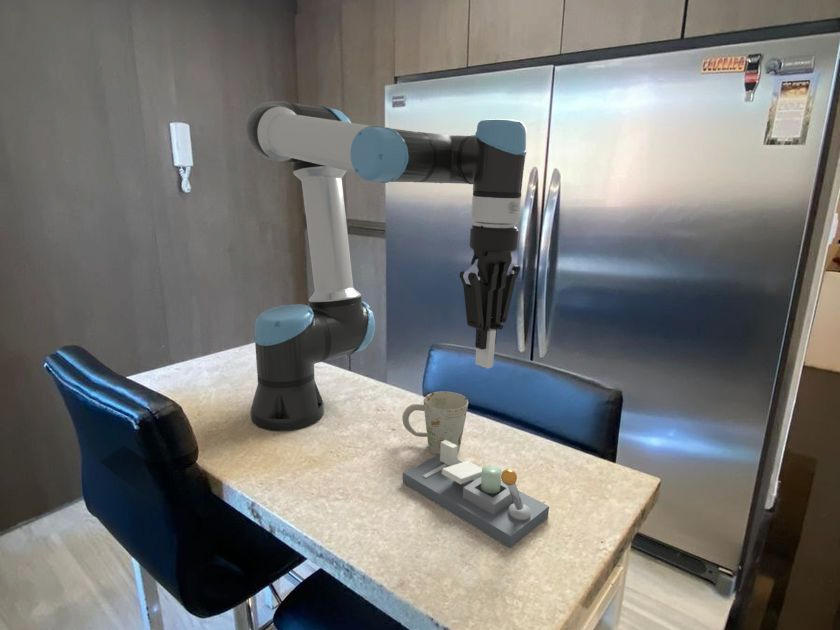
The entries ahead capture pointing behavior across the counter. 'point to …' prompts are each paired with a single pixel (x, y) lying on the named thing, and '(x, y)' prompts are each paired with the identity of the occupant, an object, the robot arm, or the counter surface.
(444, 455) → the slider
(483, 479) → the button
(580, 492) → the counter surface
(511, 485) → the lever
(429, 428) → the mug
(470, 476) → the plate
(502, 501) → the panel
